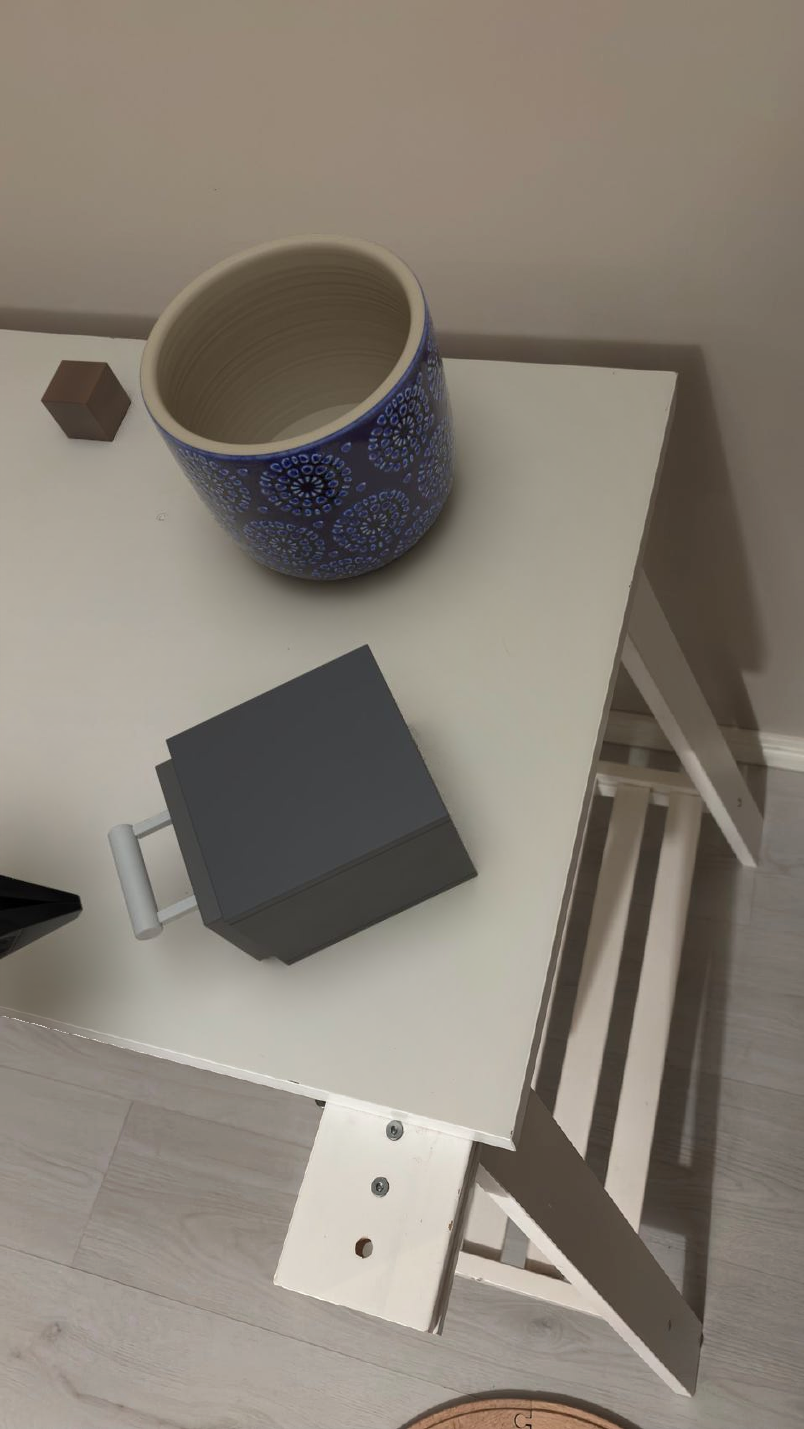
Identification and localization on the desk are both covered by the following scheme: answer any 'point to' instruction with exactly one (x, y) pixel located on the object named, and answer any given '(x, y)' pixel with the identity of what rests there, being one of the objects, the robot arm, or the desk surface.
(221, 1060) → the desk surface
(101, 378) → the walnut block
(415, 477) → the planter
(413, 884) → the cabinet
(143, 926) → the drawer
